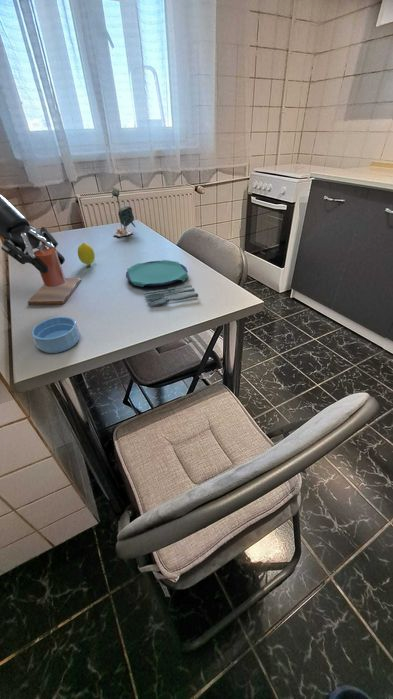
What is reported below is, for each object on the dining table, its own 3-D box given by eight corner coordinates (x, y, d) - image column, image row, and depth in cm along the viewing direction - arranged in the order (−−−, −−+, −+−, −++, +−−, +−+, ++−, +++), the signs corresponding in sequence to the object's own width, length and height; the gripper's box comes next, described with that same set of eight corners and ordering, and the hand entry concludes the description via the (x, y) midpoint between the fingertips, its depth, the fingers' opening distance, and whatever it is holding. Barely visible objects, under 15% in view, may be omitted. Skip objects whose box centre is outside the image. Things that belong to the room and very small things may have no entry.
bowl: (49, 360, 63) (42, 344, 60) (30, 342, 68) (24, 328, 66) (88, 340, 68) (84, 326, 66) (68, 326, 73) (63, 312, 71)
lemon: (94, 268, 104) (88, 245, 99) (78, 268, 104) (72, 245, 99) (98, 262, 108) (93, 240, 104) (84, 262, 109) (78, 240, 104)
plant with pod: (139, 234, 136) (133, 185, 124) (115, 238, 132) (106, 188, 120) (134, 230, 142) (127, 183, 130) (111, 234, 138) (102, 185, 126)
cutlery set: (178, 262, 106) (178, 256, 105) (205, 299, 83) (205, 291, 82) (123, 270, 102) (122, 264, 100) (135, 311, 79) (134, 303, 77)
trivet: (63, 304, 83) (62, 300, 82) (28, 304, 83) (27, 301, 82) (81, 280, 96) (80, 277, 95) (51, 281, 96) (50, 278, 95)
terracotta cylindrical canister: (49, 288, 78) (38, 257, 73) (40, 283, 81) (29, 252, 76) (69, 282, 81) (60, 251, 76) (59, 276, 84) (50, 246, 79)
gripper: (-21, 211, 66) (40, 268, 70) (27, 199, 77) (78, 249, 81) (-27, 234, 71) (30, 286, 75) (19, 219, 81) (67, 265, 85)
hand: (55, 266), depth 78 cm, fingers closed on terracotta cylindrical canister, 5 cm apart
